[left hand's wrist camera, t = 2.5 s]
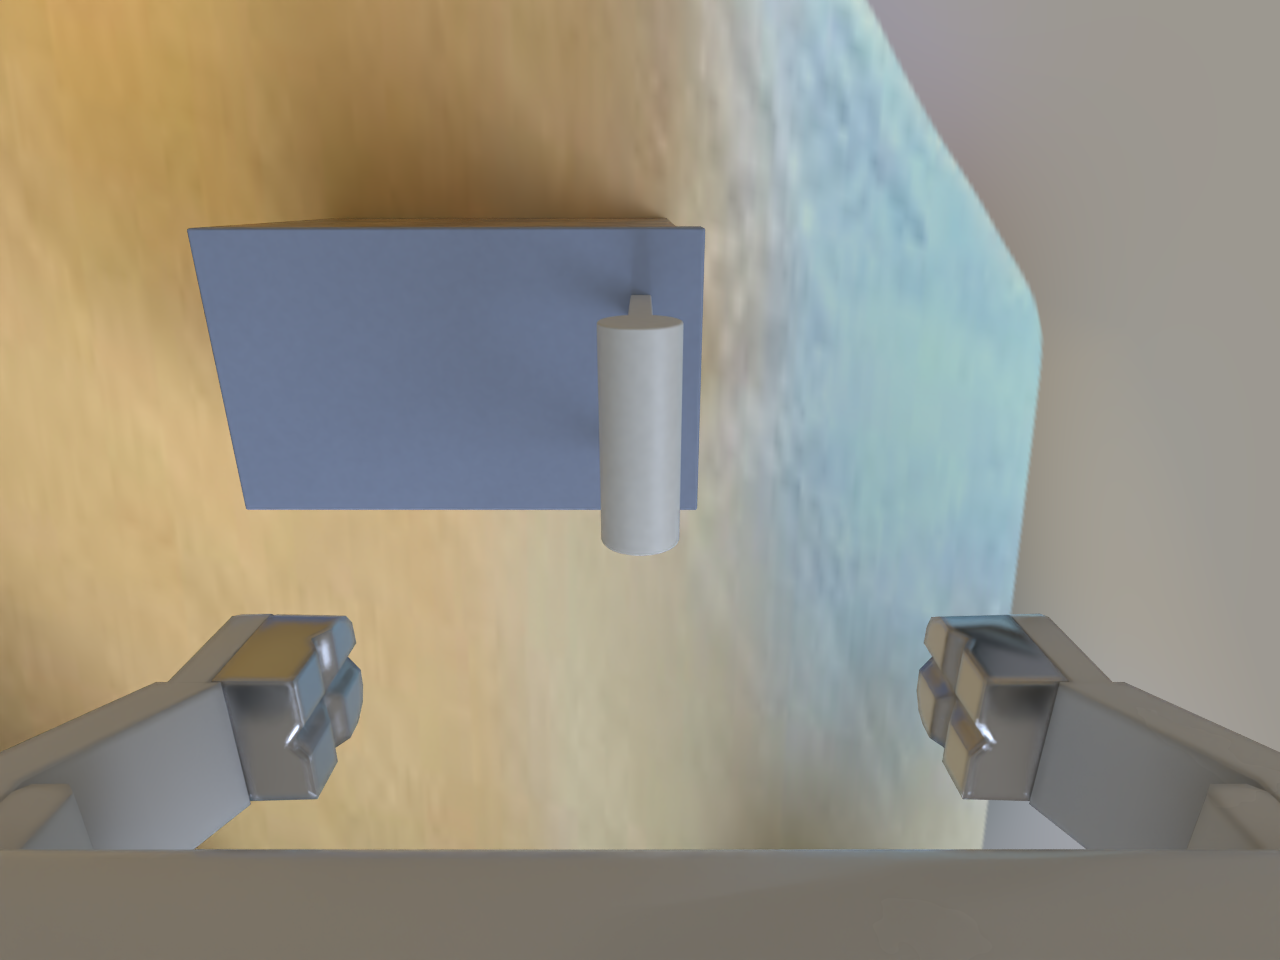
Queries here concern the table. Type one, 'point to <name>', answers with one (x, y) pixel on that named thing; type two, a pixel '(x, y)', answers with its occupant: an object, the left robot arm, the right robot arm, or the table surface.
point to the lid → (462, 369)
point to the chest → (474, 222)
